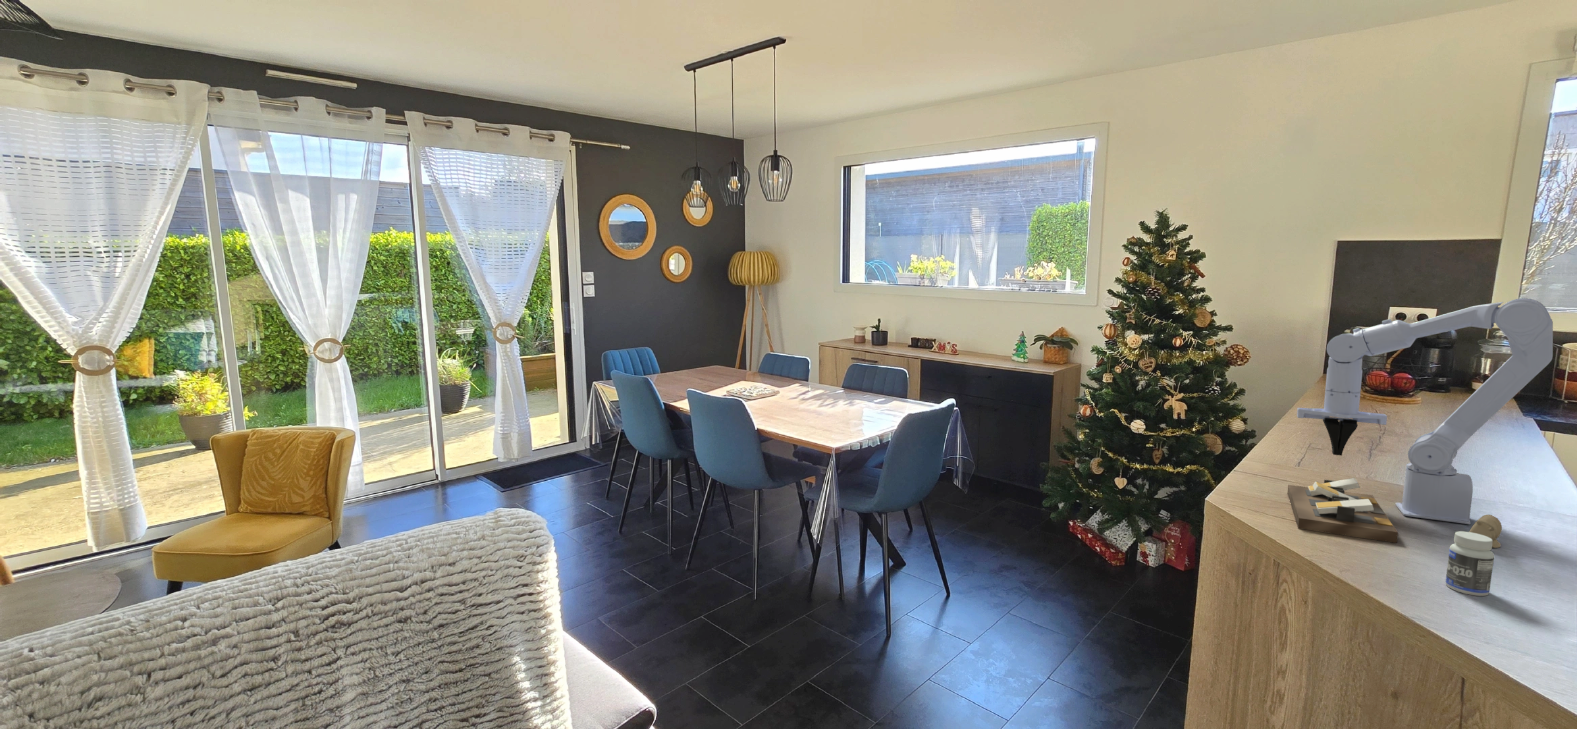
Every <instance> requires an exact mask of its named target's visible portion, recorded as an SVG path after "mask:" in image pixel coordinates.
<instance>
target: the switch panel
mask: <svg viewBox="0 0 1577 729" xmlns="http://www.w3.org/2000/svg"><path fill="white" fill-rule="evenodd" d="M1334 481H1335V480H1330V479H1324V480H1323V483H1328V482H1334ZM1328 487H1330V488H1332V489H1334V490H1337V491H1339V492H1341V493H1343V494H1345V495H1348V496H1350V497H1352V498H1354V499H1357V500H1360V499H1369V500H1370V502H1371V504H1372V505H1373V509H1374V510H1371V511H1363V512H1362V511H1356V512H1355V508H1351V507H1343V506H1338V507H1337V513H1325V514H1319V512H1318V510H1317V507H1316V503H1318V502H1332V501H1346V500H1349V498H1348V497H1341V496H1333V495H1332V498H1330V497H1328V496H1326V495H1323V494H1320V495H1314V496H1312V495H1311V493H1310V490H1309V488H1308V486H1300V485H1293V484H1288V485H1287V494H1286V495H1287V496H1288V500H1290V501H1289V503H1291V504H1290V506H1291V510H1292V513H1293V517H1294V520H1295V523H1296V527H1297V529H1301V530H1308V531H1314V532H1320V533H1327V534H1335V535H1341V536H1347V537H1348V536H1349V537H1353V538H1361V539H1367V540H1373V541H1380V542H1386V543H1393V544H1397V542H1398V536H1399V535H1398V534H1399V533H1398V530H1397V529H1396V527H1395V526H1394V525H1393V523H1392V521H1391V520H1390V518H1389V517H1388V516H1387V514H1386V513H1385V512H1384V509H1382V507H1381V506H1380V504H1379V503H1378V502H1377V500H1376V498H1375V497H1374V495H1373V494H1367V493H1359V492H1358V493H1357V492H1350V491H1346V490H1343V488H1340V487H1331V486H1328Z"/></svg>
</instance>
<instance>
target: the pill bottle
mask: <svg viewBox="0 0 1577 729" xmlns="http://www.w3.org/2000/svg"><path fill="white" fill-rule="evenodd" d="M1453 537H1454V538H1453V542H1454V543H1452V544H1450V546H1449V549H1448V559H1447V566H1446V576H1445V585H1446V586H1447V587H1448V588H1449V589H1451V590H1454V591H1456V592H1458V593H1462V594H1465V595H1470V596H1479V597H1483V596H1488V595H1489V594H1490V593H1491V592H1490V591H1491V582H1492V576H1493V568H1494V560H1495V554H1494V552H1493V551H1491V550H1492V549H1493V547H1492V542H1493V540H1492V539H1491V538H1489V537H1487V536H1484V535H1480V534H1477V533H1472V532H1469V531H1463V530H1460V531H1455V533H1454V536H1453Z"/></svg>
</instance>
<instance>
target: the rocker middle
mask: <svg viewBox="0 0 1577 729" xmlns="http://www.w3.org/2000/svg"><path fill="white" fill-rule="evenodd" d="M1312 485H1313V488H1314V490H1315V491H1317V492H1319V493H1321V494H1323V495H1326V496H1328V497H1330V498H1332V495H1333V496H1341V497H1348V498H1349V500H1357V499H1354V498H1352V497H1350V496H1348V495H1345V494H1343V493H1341V492H1339V491H1337V490H1334V489H1332V488H1330V487H1328V486H1325V485H1323V483H1321V482H1318V481H1314V483H1313V484H1312ZM1362 512H1363V511H1362Z"/></svg>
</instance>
